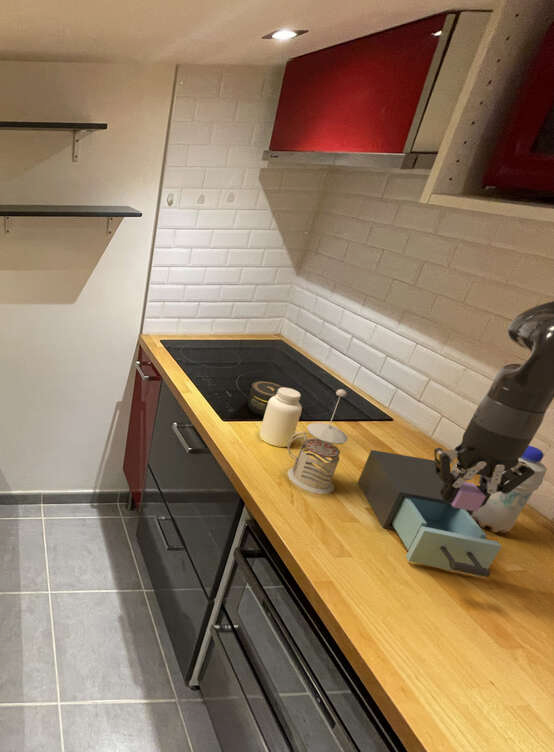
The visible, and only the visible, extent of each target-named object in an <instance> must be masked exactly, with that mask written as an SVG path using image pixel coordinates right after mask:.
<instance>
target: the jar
mask: <svg viewBox="0 0 554 752" xmlns="http://www.w3.org/2000/svg"><path fill="white" fill-rule="evenodd" d="M279 388H285V387H284V386H282V385H280V384H277V383H275V382H271V381H262V380H261V381H256V382H254V383H253V384H252V385H251V388H250V391H249V396H248V400H247V405H248V408H249V410H250V411H251V412H252V413H254V414H255V415H257V416H260V417H263V418H264V415H265V412H266V408H267V405H268V401H269V400H270V398H271V397H273V396H276V394H277V392H278V389H279Z"/></svg>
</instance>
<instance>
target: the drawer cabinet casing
mask: <svg viewBox="0 0 554 752" xmlns="http://www.w3.org/2000/svg"><path fill="white" fill-rule="evenodd" d="M443 485H444V482H443V481H442V480H441V479H440V477H439V476H438V475H437V474H436V471H435V459H428V458H423V457H416V456H411V455H404V454H399V453H392V452H387V451H381V450H375V449H371V450H370V452H369V454H368V456H367V459H366V461H365V463H364V466H363V469H362V471H361V474H360V475H359V478H358V481H357V486H359V488H360V490H361V493H362V494H363V496H364V497H365V499H366V501H367V503H368V504H369V506H370V508H371V510H372V512H373V513H374V515H375V517H376V518H377V521H378V522H379V524H380V526H381V527H382V528H383V529H386V530H390V531H391V530H392V531H396V529H395V528H394V526H393V524H392V523H391V520H392V518H393V516H394V514H395V512H396V510H397V508H398V506H399V504H400V502H401V500H402V497H403V496H405V497H410V498H415V499H421V500H426V501H431V502H437V503H442V504H447V505H451V504H450V503H447V502H446V501H445V500H444V499H443V498H442V496H441V494H440V491H441V489H442V487H443ZM466 511H467V512H468V513H469V515H470V516H471V517H472V513H473V512H474V511H470V510H466Z"/></svg>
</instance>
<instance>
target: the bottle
mask: <svg viewBox="0 0 554 752" xmlns="http://www.w3.org/2000/svg"><path fill="white" fill-rule="evenodd" d="M543 458H544V452H543V451H542V450H541V449H539V448H537V447H535V446H532V445H529V446H528V447H527V449H526V451H525V452H524V454H523V456H522V457H521V458H519V459H518V460H519V462H520V461H522V462H525V463H526V464H527V465H528V466H529V467H531V468H532V469H533V470H534V471H535V474H534V475H532V476H531V477H530V478H528V479H527V480H525V481H524V482H523V483H521V484H520V485H519V486H517V487H516V488H515V489H513V490H512V491H511V492H509V493H507V494H504V493H502V492H496V493H494V494H491V496H490V498H489V499H488V501H487V503H486V504H485V505H484V506H481V508H480V509H478V511H477V512H475V511H474V512H473V513H472V515H471V517H472V518H473V519H474V521H475V522H476V523H477V522H478V525H479V527H480V528H485V527H489V528H490V532H492V533H498V532H499V533H502V534H503V533H505V534H506V533H508V532H509V531H511V529H512V528H513V527H514V525H515V524H516V522H517V520H518V518H519V516H520V514H521V511H522V510H523V509H524V507H525V506H526V503H527V502H528V501H529V499H530V498H531V496H532V495H533V493H534V492H535V491H536V490H538V489H539V487H540V486H542V484H543V482H544V478H545V475H546V473H547V467H546V466H545V464H543V463H542V462H541V461H542V460H543ZM505 472H506V471H505ZM503 473H504V472H503ZM503 473H502V474H503ZM508 482H509V480H508V481H507V482H506V483H508ZM506 483H504V484H506Z"/></svg>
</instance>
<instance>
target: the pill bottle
mask: <svg viewBox="0 0 554 752" xmlns="http://www.w3.org/2000/svg"><path fill="white" fill-rule="evenodd" d="M301 396H302V395H301V393H300V392H299V391H298V390H296V389H294V388H290V387H284V388H279V389H278V392H277V394H276V396H273V397H271V398H270V400H269V401H268V405H267V408H266V412H265V415H264V417H263V419H262V422H261V425H260V429H259V438H260V439H261V440H262V441H264V442H265V443H266V444H269V445H271V446H274V447H280V448H285V447H286V448H287V444H288V441H289V439H290V437H291V436H292V435H294V434H295V433H296V430H297V426H298V423H299V420H300V417H301V414H302V411H303V406H302V403H300V399H301ZM294 436H295V435H294ZM294 436H293V437H292V438H291V440H290V442H289V444H290V443H291V441H292V440H293V439H294ZM291 444H292V443H291Z"/></svg>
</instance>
